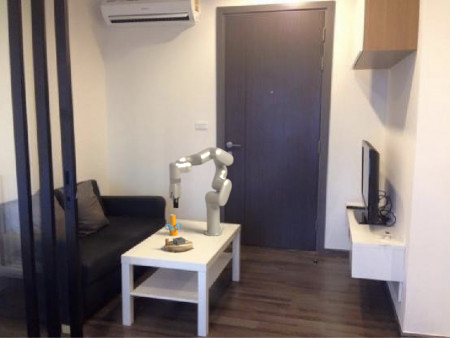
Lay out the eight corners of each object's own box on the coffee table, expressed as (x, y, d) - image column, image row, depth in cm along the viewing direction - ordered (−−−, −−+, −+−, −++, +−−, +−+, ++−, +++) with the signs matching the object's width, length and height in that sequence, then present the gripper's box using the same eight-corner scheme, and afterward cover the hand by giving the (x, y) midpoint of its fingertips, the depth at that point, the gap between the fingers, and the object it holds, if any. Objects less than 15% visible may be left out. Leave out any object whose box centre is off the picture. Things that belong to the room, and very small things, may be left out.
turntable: (163, 244, 289) (162, 235, 288) (189, 242, 294) (189, 233, 293) (167, 252, 272) (167, 243, 271) (195, 249, 277) (195, 240, 276)
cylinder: (177, 237, 308) (177, 217, 306) (163, 236, 310) (163, 216, 308) (182, 232, 320) (182, 213, 318) (169, 232, 322) (168, 212, 320)
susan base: (182, 243, 293) (182, 243, 293) (193, 248, 282) (193, 248, 282) (164, 247, 284) (164, 247, 284) (175, 253, 273) (175, 252, 273)
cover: (173, 243, 283) (172, 238, 282) (181, 242, 286) (180, 236, 286) (177, 245, 278) (177, 240, 278) (185, 244, 281) (185, 239, 281)
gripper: (175, 179, 295) (175, 205, 297) (165, 182, 281) (165, 209, 283) (185, 179, 293) (185, 205, 295) (175, 182, 279) (176, 210, 281)
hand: (175, 207), depth 289 cm, fingers closed
